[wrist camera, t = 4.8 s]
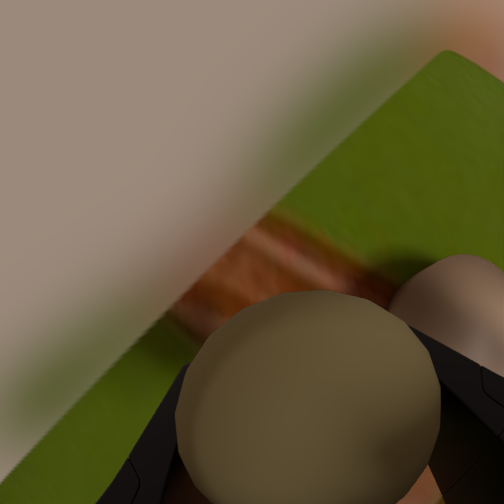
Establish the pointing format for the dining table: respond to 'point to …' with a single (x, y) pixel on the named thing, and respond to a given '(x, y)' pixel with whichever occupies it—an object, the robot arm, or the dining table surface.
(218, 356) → the cork
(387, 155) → the dining table surface
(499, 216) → the dining table surface
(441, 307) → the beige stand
